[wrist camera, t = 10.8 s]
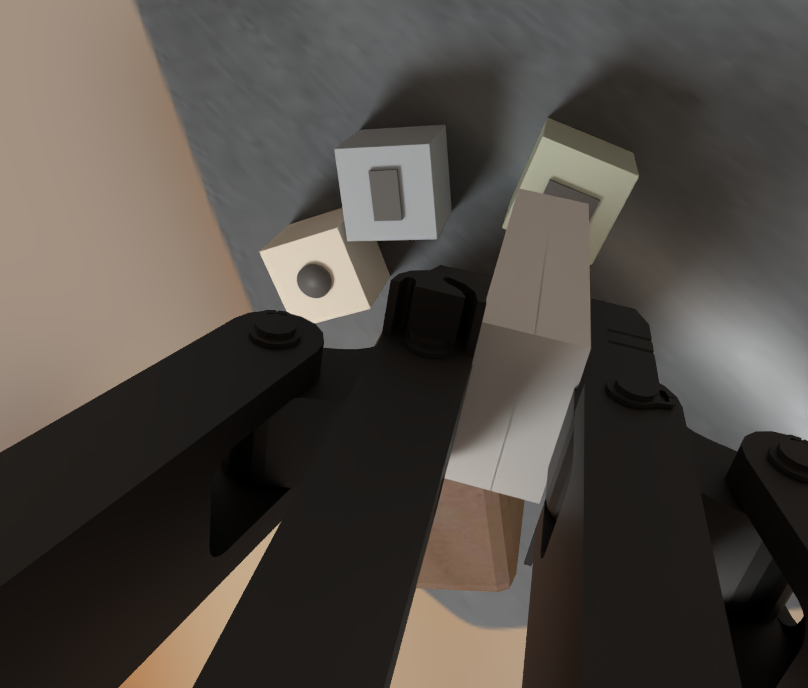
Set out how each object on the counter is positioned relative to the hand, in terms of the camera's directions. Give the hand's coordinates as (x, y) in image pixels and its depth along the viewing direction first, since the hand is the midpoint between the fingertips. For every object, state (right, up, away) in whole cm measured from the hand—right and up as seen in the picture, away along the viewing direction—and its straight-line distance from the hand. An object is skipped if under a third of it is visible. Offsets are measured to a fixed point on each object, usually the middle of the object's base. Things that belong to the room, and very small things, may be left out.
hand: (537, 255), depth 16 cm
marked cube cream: (-8, +5, +39) cm, 40 cm away
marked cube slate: (-3, +10, +35) cm, 37 cm away
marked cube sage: (+8, +9, +33) cm, 35 cm away
